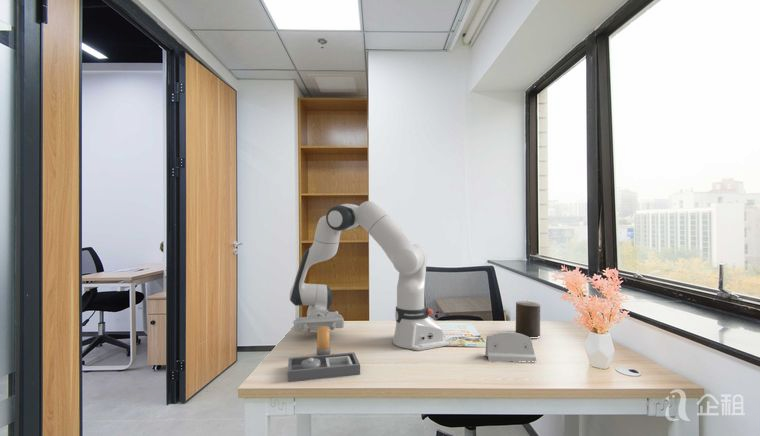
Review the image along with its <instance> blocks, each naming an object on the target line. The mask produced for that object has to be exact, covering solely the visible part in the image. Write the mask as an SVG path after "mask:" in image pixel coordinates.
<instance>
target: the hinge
mask: <svg viewBox="0 0 760 436" xmlns="http://www.w3.org/2000/svg"><path fill="white" fill-rule="evenodd" d="M485 342H486V343H485V357H487V358H488V359H487V360H489V361H488V362H497V361H516V362H515V363H523V362H522V361H526V362H528V361H530V362H532V361H534V362H535V361H536V362H537V357H536V354H535V350H534V346H533V342H532V339H531V338H530V337H528V336H525V335H523V334H519V333H516V332H511V331H499V332H496V333H491V334H489V335H487V336H486V340H485ZM519 361H521V362H519Z"/></svg>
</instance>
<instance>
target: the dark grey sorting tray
mask: <svg viewBox="0 0 760 436" xmlns="http://www.w3.org/2000/svg"><path fill="white" fill-rule="evenodd" d="M287 365H288V366H287V367H288V368H287V383H289V382H291V383H292V382H299V381H309V380H311V381H312V380H318V379H330V378H338V377H347V376H348V377H350V376H356V375H357V376H358V375H361V364H360V362H359V359H358V358H357V355H356V353H355V351H353V352H352V351H351V352H342V353H330V354H329V355H317V354H316V355H307V356H296V357H294V356H293V357H288V363H287Z"/></svg>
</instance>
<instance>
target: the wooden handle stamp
mask: <svg viewBox="0 0 760 436" xmlns="http://www.w3.org/2000/svg"><path fill="white" fill-rule="evenodd" d="M316 333H317V334H316V335H317V336H316V338H317V340H316V341H317V342H316V344H317V345H316V356H317V355H329V354H331V346H330V341H331V339H330V336H331V330H330V327H327V326H321V327H318V328H317V330H316Z"/></svg>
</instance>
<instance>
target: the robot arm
mask: <svg viewBox="0 0 760 436" xmlns="http://www.w3.org/2000/svg"><path fill="white" fill-rule="evenodd" d="M360 226H361V227H362V228H363V229H364V230H365V231H366V232H367V233H368V234H369V236H371V238H372V239H373V240H374V241H375V242H376V243H377V244H378V246H379V247H381V249H382V250H383V252H384V253H385V254H386V256H387V258H388V259H389V261H390V262H391V263H392V265H393V268H394V269H395V270H396V271H397V272H398V273H399V274H398V280H397V285H396V306H395V310H394V311H395V312H394V313H395V316H394V317H395V318H394V319H395V328H394V329H395V330H394V335H393V339H392V343H393V345H395V346H396V347H399V348H404V349H409V350H413V351H418V352H419V351H424V350H425V351H426V350H430V349H435V348H440V347H445V346H446V347H447V346H450V339H449V338H447V337H446V336H445V335H444V330H443V328H442V326H441V325H440V324H439V323H438V322H437V321H435V319H433V318H432V317H430V316H432V315H433V314H434V310H433V309H431V308H427V307H426V306H425V285H426V276H427V275H426V273H427V253H426V250H425V249H424V248H423V247H422V246H420V245H418V244H415V243H414V244H413V243H412V242H411V241H410V240H409V238H408V237H407V235H406V234H405V233H404V231H403V230H402V228H401V227H400V226H399V224H397V223H396V221H394V219H392V218H391V216H390V215H389V214H388V213H386V211H385V210H383V209H382V207H380V206H379V205H378V204H376V203H375V202H374V201H371V200H367V201H364V202H362V203H361V204H358V203H343V204H336V205H335V206H332V207H330V208H329V209H328V210H327V213H326V215H323V216H320V217H319V220H318V222H317V225H316V229H315V232H314V237H313V242H312V245H311V246H310V247H309V248H307V249H305V250H304V253H303V255H302V257H301V260H300V264H299V267H298V270H297V273H296V276H295V279H294V282H293V284H292V286H291V288H290V292H289V301H290V302H291V304H293V305H294V306H295V307H296V306H297V307H298V306H308V308H307V311H306V316H303V317H302V316H301V317H296V318H295V319H294V320H293V322H292V323H293V331H297V332H300V331H305V332H307V333H308V332H311V331H317V328H318V327H321V326H327V327H330V331H335V329H342V328H344V326H345V320H344V317H343V316H342V315H341V314H339V311H338V310H330V308H331V307H332V301H333V294H332V290H331V288H330V286H329V285H327V284H320V283H306V282H305V280H306V276H307V274H308V271H309V269H310V267H312V266H313V265H315V264H318V263H321V262H325V261H328V260H330V259H332V258H334V257H335V256H336V254H337V252H338V248H339V244H340V239H341V234H342V232H343V231H348V230H354V229H355V228H358V227H360ZM429 315H430V316H429Z"/></svg>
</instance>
